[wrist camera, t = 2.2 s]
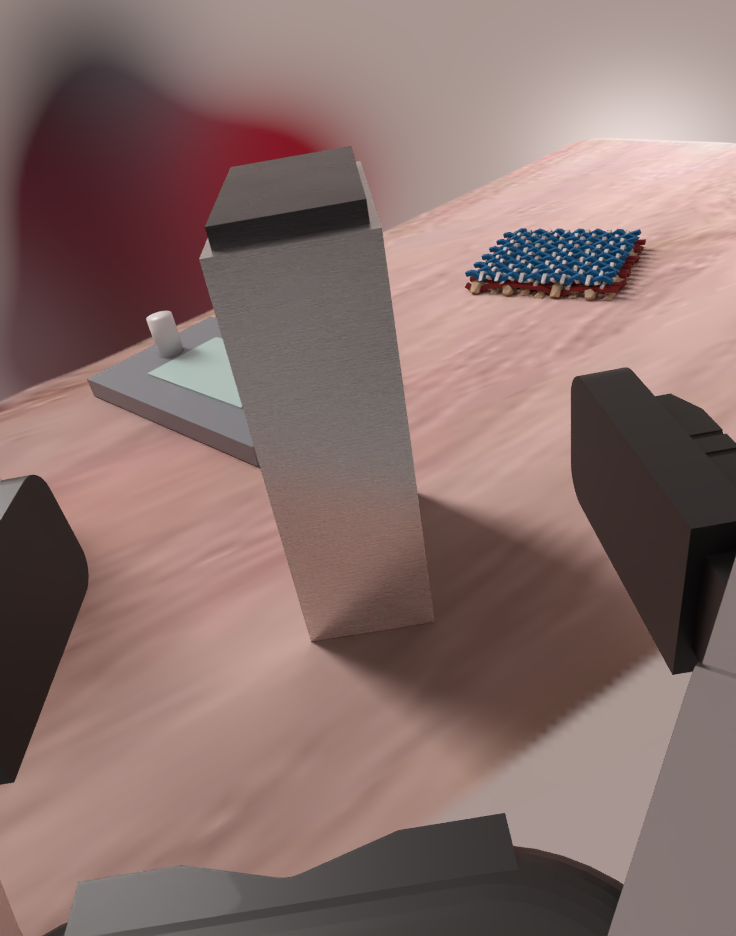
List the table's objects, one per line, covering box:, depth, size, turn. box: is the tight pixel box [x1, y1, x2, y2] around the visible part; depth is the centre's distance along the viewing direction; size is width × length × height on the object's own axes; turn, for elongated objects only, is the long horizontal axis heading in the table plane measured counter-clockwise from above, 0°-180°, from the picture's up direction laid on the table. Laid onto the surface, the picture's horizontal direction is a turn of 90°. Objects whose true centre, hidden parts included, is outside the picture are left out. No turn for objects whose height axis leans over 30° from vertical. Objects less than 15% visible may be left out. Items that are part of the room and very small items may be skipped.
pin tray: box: [87, 311, 260, 467], centre depth 41 cm, size 16×10×4 cm, turn 49°
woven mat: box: [465, 228, 646, 300], centre depth 49 cm, size 10×11×2 cm
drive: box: [199, 146, 435, 642], centre depth 24 cm, size 4×8×15 cm, turn 4°
